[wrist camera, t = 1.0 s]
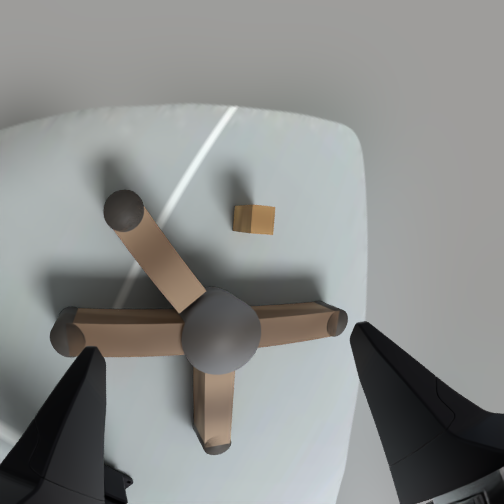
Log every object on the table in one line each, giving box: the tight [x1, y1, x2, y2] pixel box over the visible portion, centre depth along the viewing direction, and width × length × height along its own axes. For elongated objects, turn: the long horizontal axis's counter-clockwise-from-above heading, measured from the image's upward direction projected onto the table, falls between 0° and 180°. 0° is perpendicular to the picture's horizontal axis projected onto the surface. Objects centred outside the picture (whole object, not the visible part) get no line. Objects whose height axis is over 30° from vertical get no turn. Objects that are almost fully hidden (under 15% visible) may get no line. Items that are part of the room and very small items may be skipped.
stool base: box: [50, 205, 348, 455], centre depth 22 cm, size 22×25×4 cm
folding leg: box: [104, 190, 206, 313], centre depth 19 cm, size 9×3×3 cm, turn 35°
